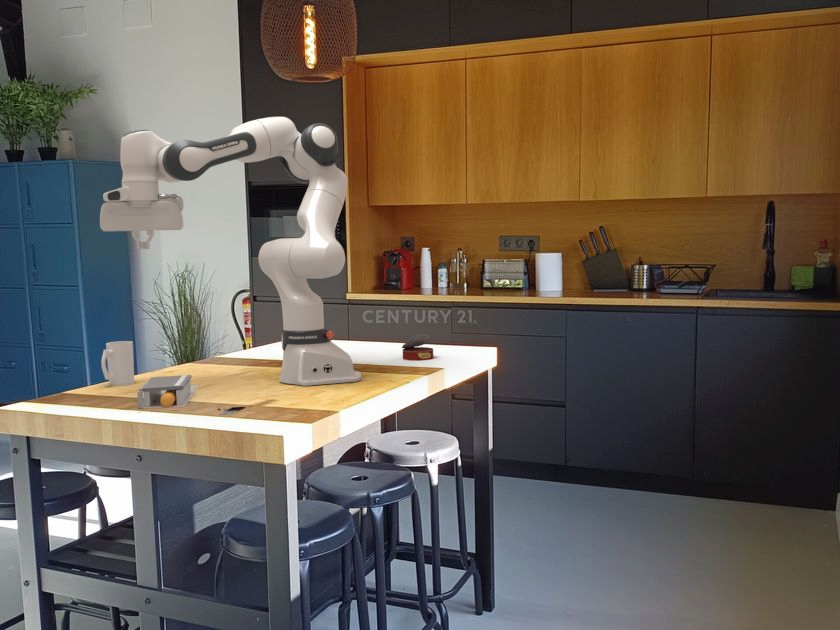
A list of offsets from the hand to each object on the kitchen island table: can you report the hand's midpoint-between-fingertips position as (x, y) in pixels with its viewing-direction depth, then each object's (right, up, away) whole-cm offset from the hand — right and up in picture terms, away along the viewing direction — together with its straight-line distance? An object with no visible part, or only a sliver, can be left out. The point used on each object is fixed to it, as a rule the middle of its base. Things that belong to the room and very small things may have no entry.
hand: (143, 248), depth 205 cm
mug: (-10, -37, +9) cm, 39 cm away
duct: (+10, -38, -8) cm, 40 cm away
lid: (+10, -34, -13) cm, 38 cm away
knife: (+29, -39, -20) cm, 53 cm away
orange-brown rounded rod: (+11, -38, -15) cm, 42 cm away
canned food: (+70, -31, +50) cm, 92 cm away
